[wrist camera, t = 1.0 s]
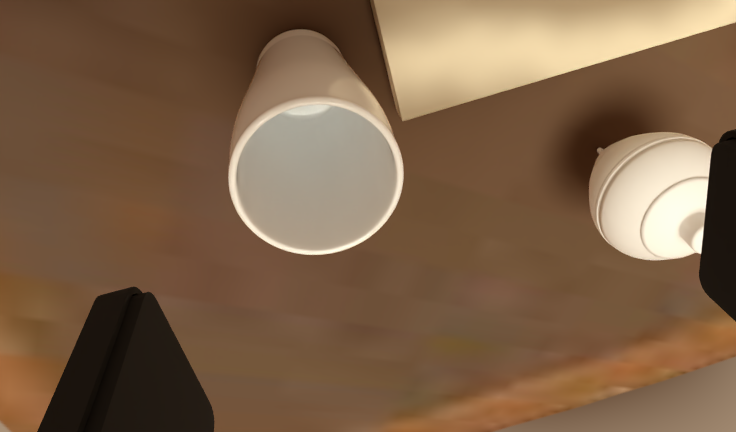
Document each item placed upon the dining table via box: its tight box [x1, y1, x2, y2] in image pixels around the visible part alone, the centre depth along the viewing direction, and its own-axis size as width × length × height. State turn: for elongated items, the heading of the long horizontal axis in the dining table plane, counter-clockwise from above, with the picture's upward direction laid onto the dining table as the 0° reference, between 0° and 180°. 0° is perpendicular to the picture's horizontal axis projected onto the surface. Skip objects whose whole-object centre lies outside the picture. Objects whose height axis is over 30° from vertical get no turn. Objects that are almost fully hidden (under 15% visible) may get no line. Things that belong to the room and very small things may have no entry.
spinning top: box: [589, 132, 712, 260], centre depth 35 cm, size 8×8×12 cm
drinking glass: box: [228, 29, 404, 255], centre depth 28 cm, size 7×7×15 cm
